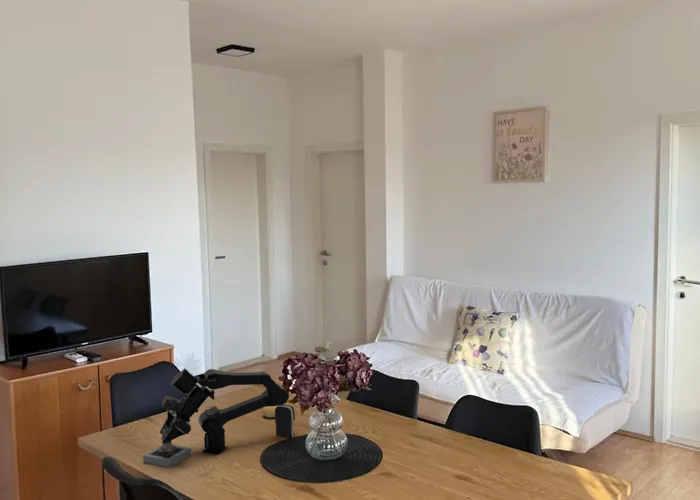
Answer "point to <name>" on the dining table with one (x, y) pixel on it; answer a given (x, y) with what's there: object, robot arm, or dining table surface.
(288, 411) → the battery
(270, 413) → the onion
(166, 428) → the grey tall tiered piece
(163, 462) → the frame
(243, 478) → the dining table surface
